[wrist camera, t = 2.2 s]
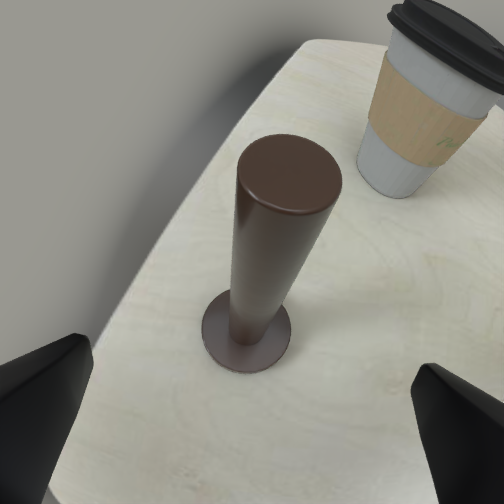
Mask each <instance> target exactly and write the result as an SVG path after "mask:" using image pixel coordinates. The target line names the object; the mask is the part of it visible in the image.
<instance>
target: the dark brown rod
mask: <svg viewBox="0 0 504 504" xmlns="http://www.w3.org/2000/svg"><path fill="white" fill-rule="evenodd" d="M341 189H342V175H341V171H340V168H339V166H338V164H337V162H336V161H335V159H334V158H333V157H332V155H331V154H330V153H329V152H328V151H327V150H325V149H324V148H323V147H321V146H320V145H318V144H317V143H315V142H313V141H311V140H309V139H306V138H303V137H300V136H296V135H289V134H275V135H269V136H265V137H262V138H260V139H258V140H256V141H254V142H253V143H251V144H250V145H249V146H248V147H247V148H246V149H245V150H244V152H243V153H242V154H241V156H240V158H239V161H238V166H237V179H236V194H235V211H234V228H233V246H232V265H231V285H230V289H229V290H227V291H225V292H223V293H221V294H220V295H218V296H217V297H216V298H215V299H214V300H213V301H212V302H211V303H210V305H209V306H208V308H207V309H206V311H205V314H204V316H203V320H202V338H203V341H204V345H205V347H206V349H207V351H208V353H209V355H210V356H211V357H212V359H213V360H214V361H215V362H216V363H217V364H219V365H220V366H221V367H223V368H225V369H227V370H229V371H232V372H235V373H240V374H252V373H257V372H260V371H263V370H265V369H267V368H269V367H270V366H272V365H273V364H274V363H276V362H277V361H278V360H279V359H280V358H281V357H282V355H283V354H284V352H285V351H286V349H287V347H288V344H289V341H290V336H291V324H290V320H289V316H288V314H287V312H286V310H285V308H284V307H283V305H282V302H283V300H284V299H285V297H286V295H287V293H288V291H289V290H290V288H291V286H292V284H293V282H294V281H295V279H296V277H297V275H298V273H299V272H300V270H301V268H302V266H303V264H304V262H305V261H306V259H307V257H308V255H309V253H310V251H311V249H312V248H313V246H314V244H315V242H316V240H317V238H318V236H319V234H320V232H321V231H322V229H323V227H324V225H325V223H326V221H327V219H328V217H329V215H330V213H331V211H332V209H333V207H334V205H335V204H336V202H337V200H338V198H339V195H340V193H341Z"/></svg>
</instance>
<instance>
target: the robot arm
mask: <svg viewBox="0 0 504 504" xmlns="http://www.w3.org/2000/svg"><path fill="white" fill-rule="evenodd" d="M93 364H94V362H93V356H92V351H91V345H90V341H89V338H88V337H87V336H85V335H81V334H77V333H73V334H70V335H68V336H66V337H64V338H61V339H59V340H57V341H55V342H52V343H50V344H48V345H46V346H44V347H41V348H39V349H37V350H34V351H32V352H30V353H28V354H25V355H23V356H21V357H18V358H16V359H14V360H12V361H10V362H7V363H5V364H3V365H0V504H41V503H42V500H43V497H44V495H45V492H46V489H47V487H48V484H49V481H50V479H51V476H52V474H53V471H54V468H55V466H56V463H57V461H58V459H59V456H60V454H61V451H62V449H63V446H64V444H65V442H66V439H67V437H68V435H69V432H70V430H71V428H72V426H73V423H74V421H75V419H76V416H77V414H78V411H79V408H80V406H81V402H82V399H83V396H84V393H85V390H86V387H87V384H88V381H89V378H90V375H91V373H92V370H93ZM411 397H412V401H413V406H414V410H415V415H416V419H417V424H418V429H419V433H420V437H421V441H422V444H423V448H424V451H425V454H426V458H427V461H428V464H429V468H430V471H431V475H432V479H433V482H434V486H435V490H436V494H437V498H438V502H439V504H504V403H503V402H501V401H499V400H497V399H496V398H494V397H492V396H491V395H489V394H487V393H485V392H484V391H482V390H480V389H479V388H477V387H475V386H474V385H472V384H470V383H468V382H467V381H465V380H463V379H462V378H460V377H458V376H457V375H455V374H453V373H451V372H450V371H448V370H446V369H445V368H443V367H441V366H440V365H438V364H436V363H425V364H423V365H422V366H421V367H420V369H419V371H418V373H417V375H416V377H415V379H414V381H413V383H412V386H411Z"/></svg>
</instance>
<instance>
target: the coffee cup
mask: <svg viewBox="0 0 504 504" xmlns="http://www.w3.org/2000/svg"><path fill="white" fill-rule="evenodd" d="M387 18H388V20H389V21H390V22H391V24H392V25H393V26H394V28H393V32H392V36H391V40H390V44H389V48H388V50H387V51H386V52H385V54H384V58H383V62H382V66H381V70H380V74H379V78H378V81H377V85H376V89H375V92H374V96H373V99H372V103H371V107H370V110H369V116H368V119H369V120H368V124H367V127H366V130H365V134H364V137H363V140H362V144H361V147H360V150H359V153H358V157H357V166H358V168H359V171H360V173H361V174H362V176H363V177H364V179H365V180H366V181H367V182H368V183H369V184H370V185H371V186H372V187H373V188H374V189H376V190H377V191H378V192H380V193H382V194H384V195H386V196H388V197H392V198H404V197H407V196H409V195H411V194H412V193H413V192H414V191H415V190H416V189H417V188H418V187H419V186H420V185H421V184H422V183H423V182H424V181H425V180H426V179H427V178H428V177H429V176H430V175H431V174H432V173H433V172H434V171H435V170H436V169H437V168H438V167H439V166H441V165H443V164H444V163H445V162H446V161H447V160H448V159H449V158H450V157H451V156H452V155H453V154H454V153H455V152H456V151H457V150H458V149H459V147H460V146H461V145H462V144H463V143H464V142H465V141H466V140H467V139H468V138H469V137H470V135H471V134H472V133H473V132H474V131H475V130H476V129H477V128H478V127H479V125H480V124H481V123H482V122H483V121H484V120H485V119H486V118H487V115H488V112H489V111H490V109H491V108H492V107H493V106H494V105H495V104H496V102H497V101H498V100H499V99H500V98H501V96H502V95H504V46H503V45H502V44H501V43H500V42H499V41H497V40H496V39H495V38H494V37H493V36H491V35H490V34H489V33H487V32H486V31H485V30H484V29H482V28H481V27H479V26H478V25H477V24H475V23H473V22H472V21H470V20H469V19H467V18H466V17H464V16H462V15H461V14H459V13H457V12H455V11H454V10H452V9H450V8H448V7H446V6H444V5H442V4H439V3H437V2H435V1H432V0H405V1H404V3H403V4H395V5H393V6H392V11H391V12H390V13H388V14H387Z"/></svg>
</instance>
